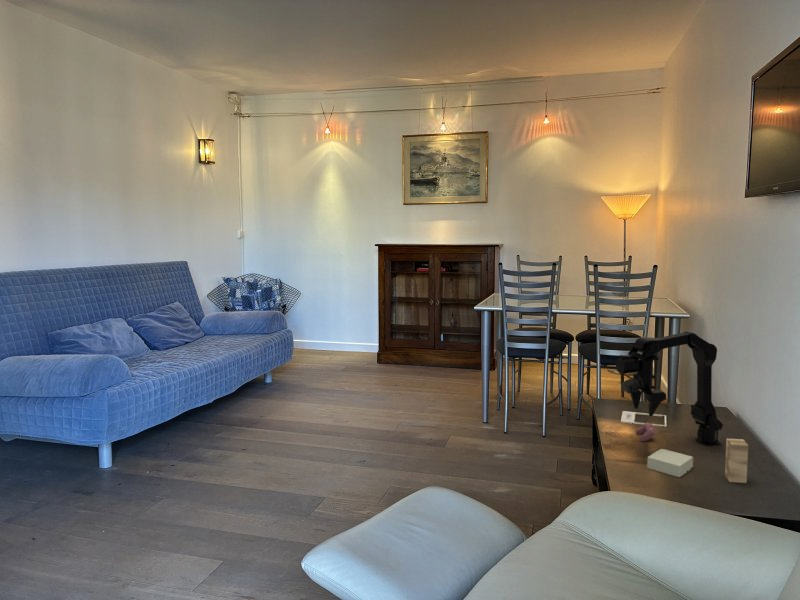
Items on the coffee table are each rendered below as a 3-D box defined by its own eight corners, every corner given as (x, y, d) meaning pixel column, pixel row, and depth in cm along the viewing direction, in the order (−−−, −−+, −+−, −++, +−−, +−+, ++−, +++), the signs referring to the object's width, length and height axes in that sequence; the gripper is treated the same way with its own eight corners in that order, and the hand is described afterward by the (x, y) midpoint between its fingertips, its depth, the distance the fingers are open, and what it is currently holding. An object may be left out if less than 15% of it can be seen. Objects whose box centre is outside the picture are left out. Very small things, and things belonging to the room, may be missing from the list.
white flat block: (661, 459, 208) (661, 448, 207) (692, 467, 199) (693, 456, 199) (647, 468, 200) (647, 457, 200) (679, 477, 192) (679, 466, 192)
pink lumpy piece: (650, 446, 224) (659, 431, 223) (639, 440, 225) (648, 425, 223) (644, 437, 234) (653, 422, 232) (634, 431, 234) (642, 417, 233)
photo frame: (622, 410, 261) (666, 414, 253) (622, 413, 261) (666, 417, 253) (620, 420, 247) (666, 425, 240) (620, 423, 248) (666, 428, 240)
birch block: (724, 475, 193) (726, 438, 191) (741, 476, 191) (743, 439, 190) (729, 481, 188) (731, 444, 186) (746, 483, 187) (748, 445, 185)
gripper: (611, 367, 221) (610, 406, 223) (640, 379, 203) (638, 421, 205) (637, 365, 223) (636, 404, 225) (668, 377, 205) (666, 419, 207)
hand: (643, 412), depth 215 cm, fingers open, 9 cm apart
